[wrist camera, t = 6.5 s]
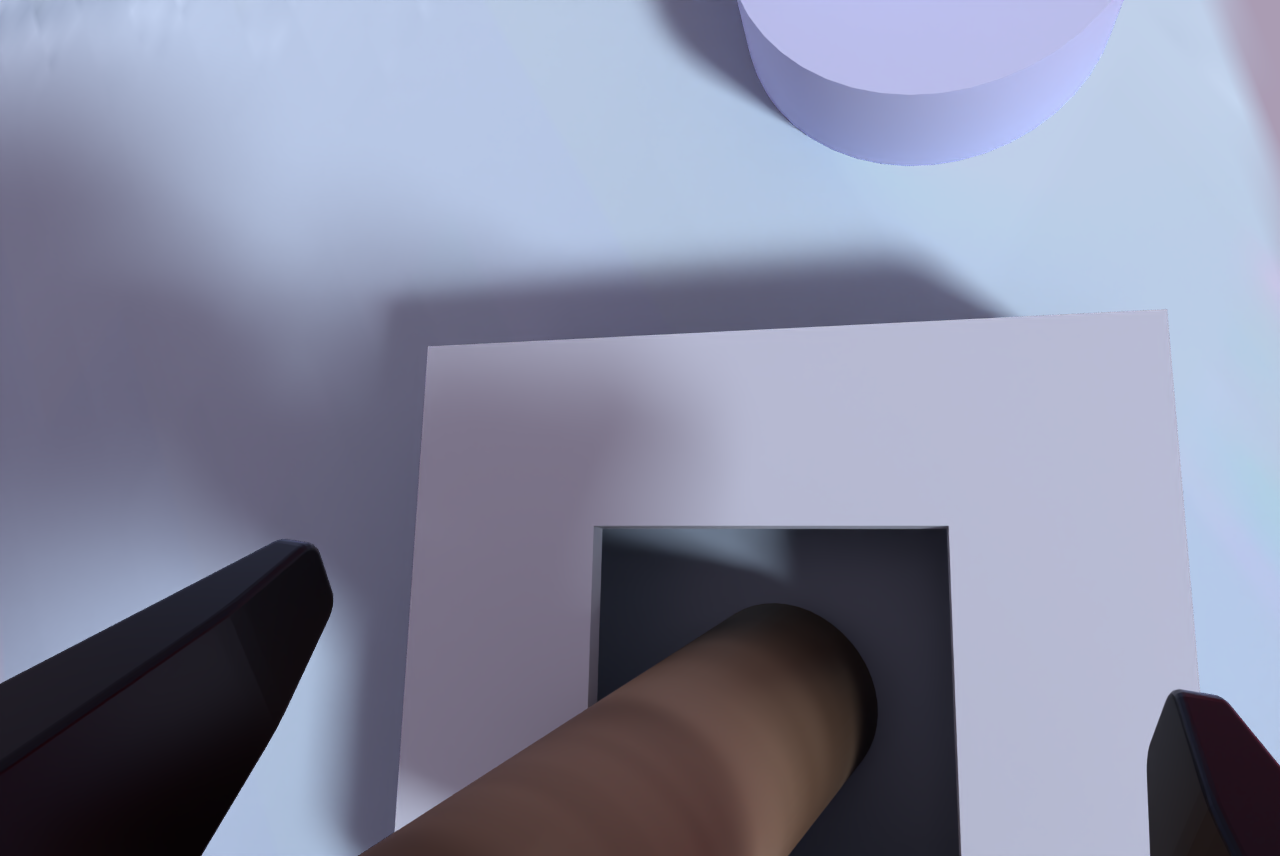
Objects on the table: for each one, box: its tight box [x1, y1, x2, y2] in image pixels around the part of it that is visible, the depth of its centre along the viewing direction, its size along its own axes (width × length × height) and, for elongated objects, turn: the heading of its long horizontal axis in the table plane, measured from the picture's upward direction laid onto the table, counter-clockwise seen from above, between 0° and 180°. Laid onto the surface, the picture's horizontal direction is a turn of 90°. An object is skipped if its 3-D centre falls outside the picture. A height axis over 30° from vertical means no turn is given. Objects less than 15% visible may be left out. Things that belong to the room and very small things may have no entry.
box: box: [395, 309, 1200, 856], centre depth 19 cm, size 14×14×5 cm
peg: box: [358, 603, 878, 856], centre depth 15 cm, size 4×4×12 cm
